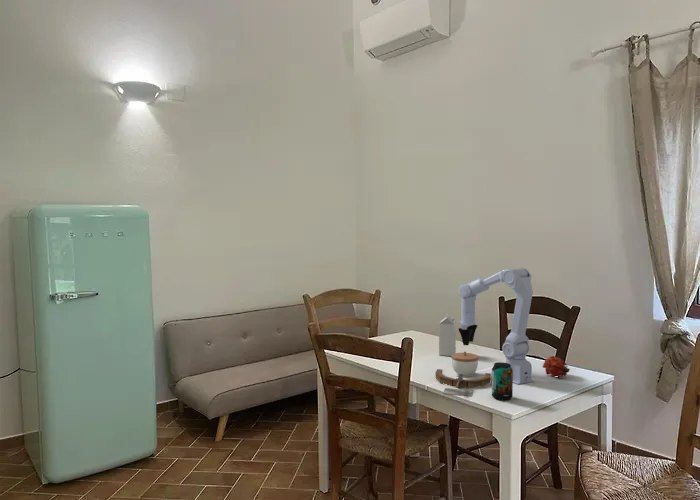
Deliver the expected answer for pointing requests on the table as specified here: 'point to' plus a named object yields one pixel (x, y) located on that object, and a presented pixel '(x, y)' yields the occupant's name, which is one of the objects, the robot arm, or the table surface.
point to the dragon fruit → (555, 366)
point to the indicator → (459, 380)
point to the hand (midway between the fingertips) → (468, 343)
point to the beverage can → (502, 381)
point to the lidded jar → (464, 363)
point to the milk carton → (447, 336)
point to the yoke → (466, 383)
